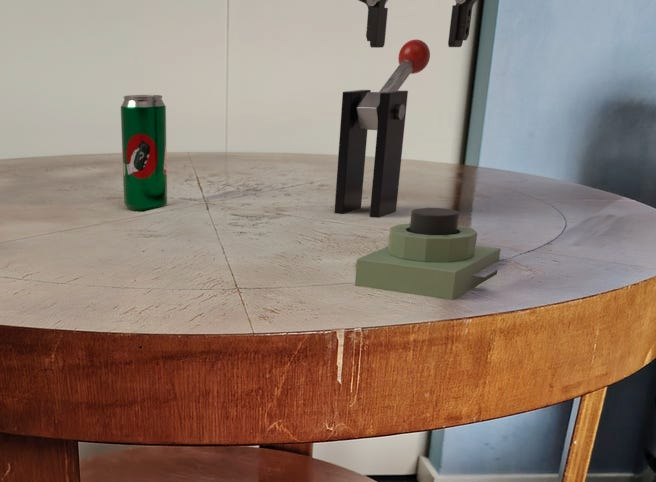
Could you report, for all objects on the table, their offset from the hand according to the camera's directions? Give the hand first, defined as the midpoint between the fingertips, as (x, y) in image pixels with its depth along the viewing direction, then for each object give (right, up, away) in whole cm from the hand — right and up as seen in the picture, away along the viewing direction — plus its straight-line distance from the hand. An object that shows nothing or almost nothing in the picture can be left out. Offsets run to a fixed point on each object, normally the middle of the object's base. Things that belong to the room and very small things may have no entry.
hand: (414, 47), depth 93 cm
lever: (-2, -5, 0) cm, 6 cm away
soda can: (-28, -13, +12) cm, 33 cm away
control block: (-5, -30, -21) cm, 36 cm away
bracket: (-5, -18, +1) cm, 19 cm away
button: (-5, -26, -23) cm, 35 cm away
